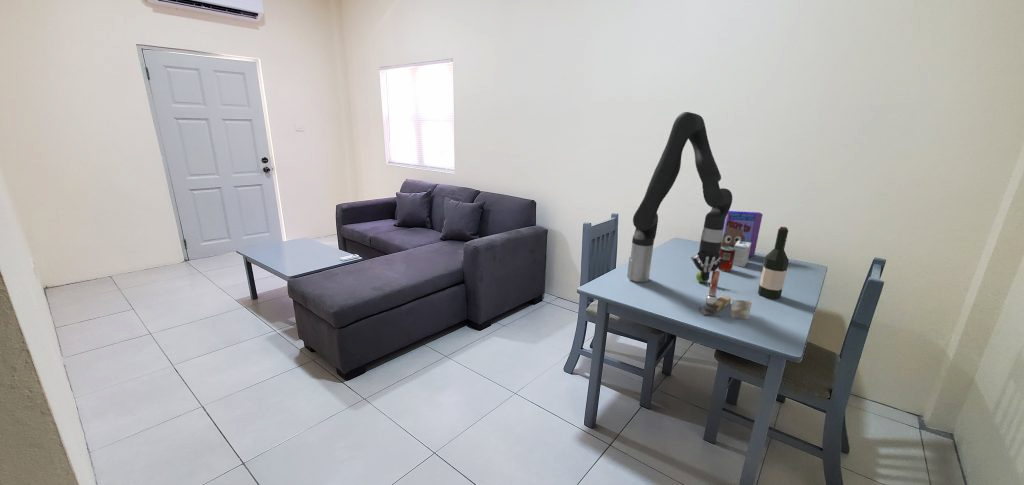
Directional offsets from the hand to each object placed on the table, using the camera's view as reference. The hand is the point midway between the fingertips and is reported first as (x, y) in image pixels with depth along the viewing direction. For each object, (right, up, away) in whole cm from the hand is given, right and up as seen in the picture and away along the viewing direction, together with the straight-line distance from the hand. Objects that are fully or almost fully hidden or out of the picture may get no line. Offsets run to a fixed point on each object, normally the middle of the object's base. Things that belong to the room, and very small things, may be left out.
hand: (704, 280), depth 166 cm
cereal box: (+47, +9, +63) cm, 79 cm away
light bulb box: (+41, +4, +48) cm, 63 cm away
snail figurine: (+9, -3, +21) cm, 23 cm away
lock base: (+3, -11, -5) cm, 12 cm away
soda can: (+28, +2, +38) cm, 47 cm away
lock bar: (+1, -7, -5) cm, 8 cm away
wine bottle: (+31, -8, +8) cm, 33 cm away
